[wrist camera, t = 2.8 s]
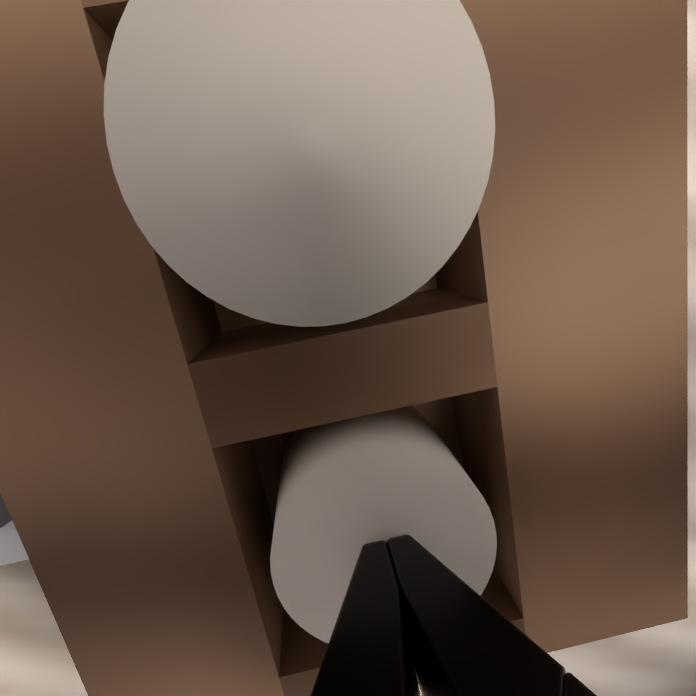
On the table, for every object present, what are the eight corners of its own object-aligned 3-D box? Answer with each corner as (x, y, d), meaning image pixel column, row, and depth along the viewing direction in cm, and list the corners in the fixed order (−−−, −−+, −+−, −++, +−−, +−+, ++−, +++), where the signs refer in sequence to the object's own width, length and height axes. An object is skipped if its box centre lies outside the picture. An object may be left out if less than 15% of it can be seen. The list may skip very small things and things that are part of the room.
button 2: (454, 523, 11) (507, 623, 8) (301, 559, 11) (297, 674, 8) (432, 377, 10) (483, 429, 7) (264, 413, 10) (244, 482, 7)
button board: (589, 523, 12) (687, 617, 9) (168, 621, 12) (115, 759, 8) (526, -466, 7) (685, -987, 4) (-190, -378, 7) (-608, -905, 4)
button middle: (437, 275, 8) (512, 288, 5) (222, 318, 8) (169, 359, 5) (403, 30, 7) (472, -130, 4) (157, 72, 7) (42, -63, 4)
